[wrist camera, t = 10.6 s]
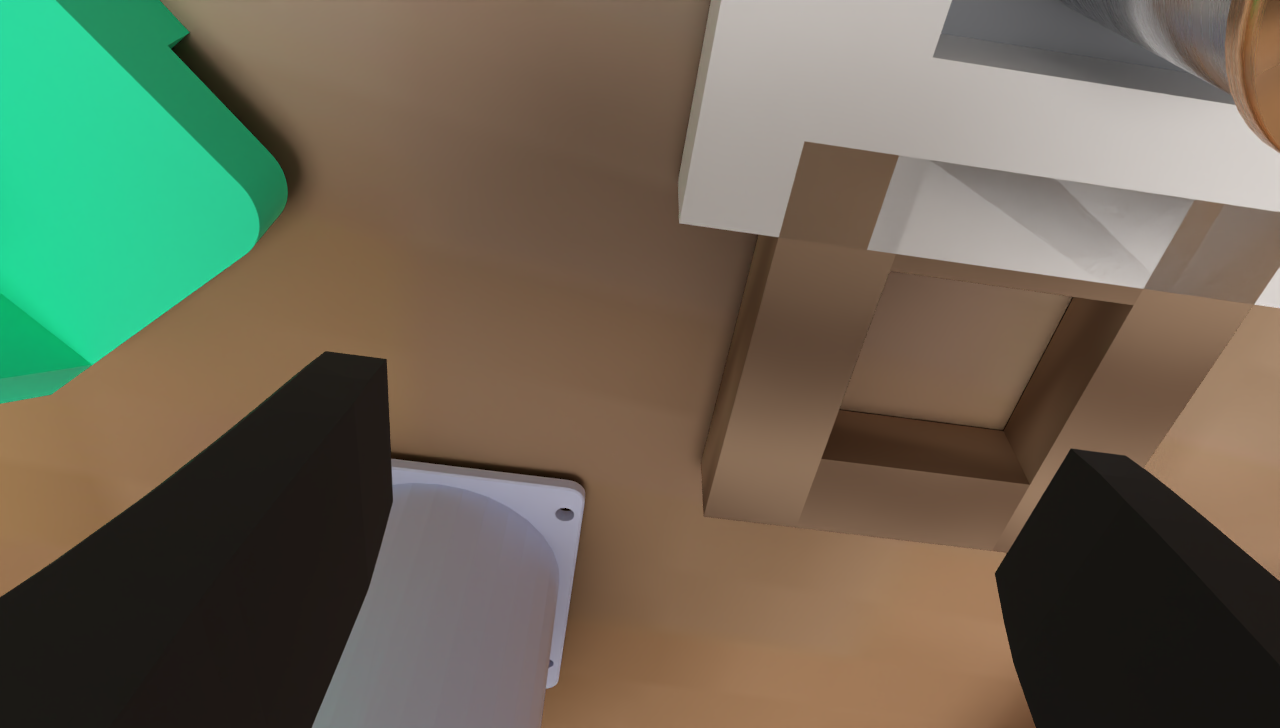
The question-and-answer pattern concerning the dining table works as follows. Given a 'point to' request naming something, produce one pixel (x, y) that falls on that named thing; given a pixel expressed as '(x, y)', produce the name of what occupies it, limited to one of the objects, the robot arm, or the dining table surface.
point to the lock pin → (1209, 46)
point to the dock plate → (970, 131)
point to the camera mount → (111, 183)
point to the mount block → (936, 452)
